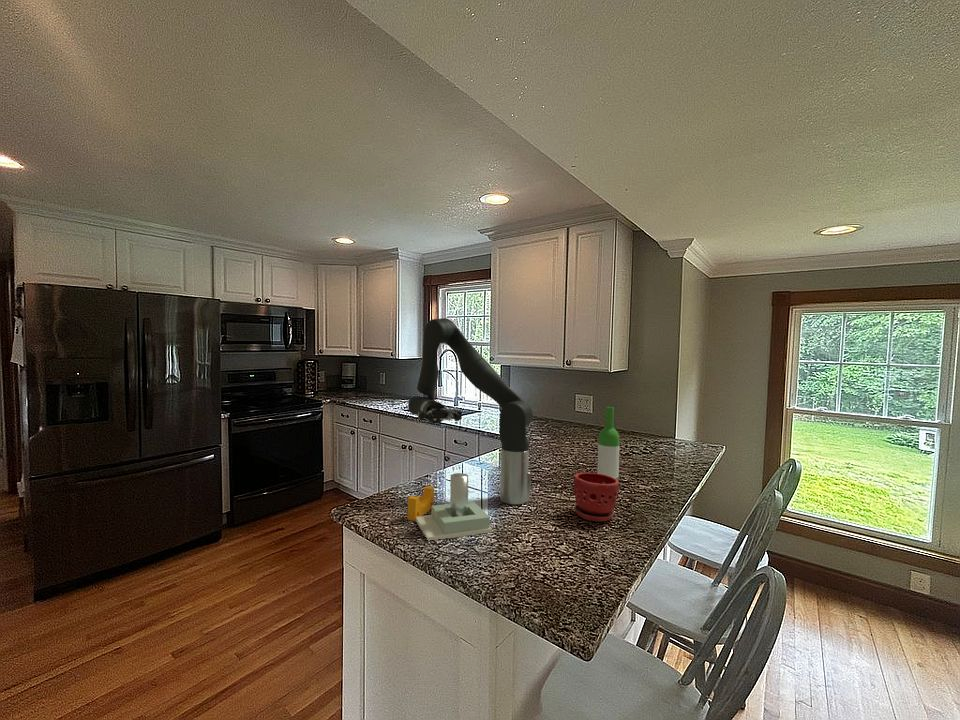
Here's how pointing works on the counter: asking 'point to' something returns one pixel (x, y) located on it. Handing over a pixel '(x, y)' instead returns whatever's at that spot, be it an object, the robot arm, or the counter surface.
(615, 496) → the plant pot
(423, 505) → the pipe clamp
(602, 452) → the wine bottle
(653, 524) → the counter surface
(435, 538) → the pale green square frame
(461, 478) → the steel shaft
